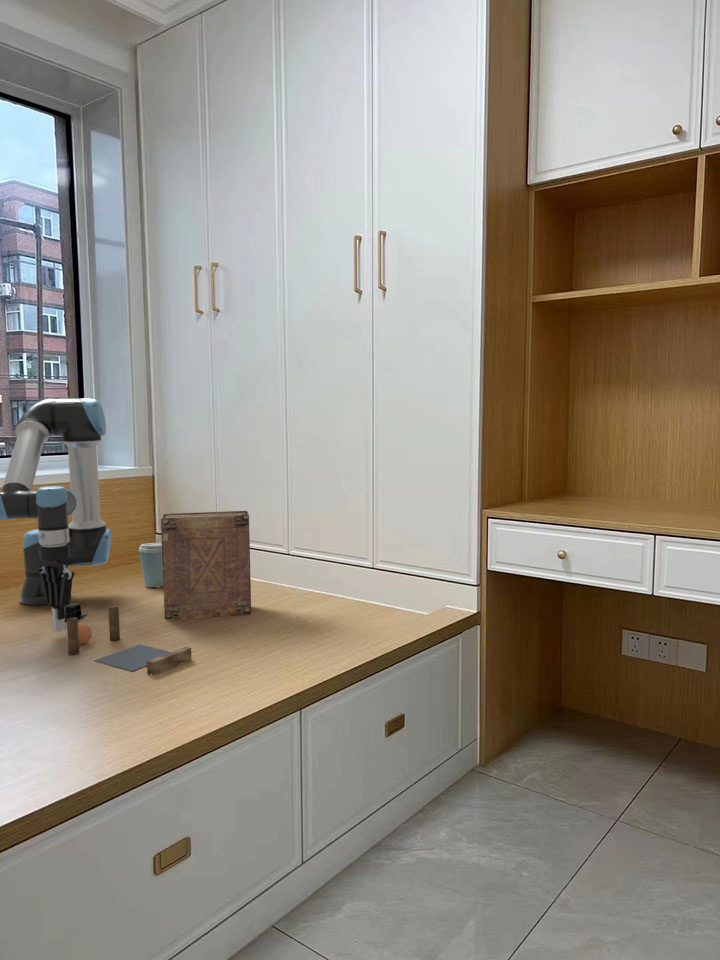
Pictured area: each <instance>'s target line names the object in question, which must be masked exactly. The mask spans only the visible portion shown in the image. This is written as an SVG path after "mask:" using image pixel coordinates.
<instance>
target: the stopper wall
mask: <svg viewBox="0 0 720 960" xmlns="http://www.w3.org/2000/svg"><path fill="white" fill-rule="evenodd" d="M169 652H170V653H167V654H165V655H162V656H159V657H157V658H154V659H151V660H149V661H147V666H146V668H147V669H146V670H147V673H148V674H147V675H150V674H152V675H151V676H155V675H157V673H158V674H160V673H162V671H163V672H164V670H165V671H168V670H169V668H170V669H172V668H171V667H173V668H175V667H177V665H178V666H180V665H182V664H181V663H183V664H185V663H188V662H189V661H188V660H190V661H192V660H191V659H192V648H191V647H189V646H183V647H180V648H178V649H175V650H173V651H169ZM187 661H188V662H187ZM184 662H185V663H184ZM179 664H180V665H179ZM174 666H175V667H174ZM167 669H168V670H167ZM154 674H155V675H154Z"/></svg>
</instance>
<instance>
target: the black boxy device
mask: <svg viewBox="0 0 720 960" xmlns="http://www.w3.org/2000/svg"><path fill="white" fill-rule="evenodd" d="M81 605H82V604H81V603H70V604H69V605H67V606H65V623H67V620H66V619H68V618H73V617H75V618H78V621H79V620H81V619H84V617H86V616H88V614H87V613H86V614H84V613H82V606H81Z"/></svg>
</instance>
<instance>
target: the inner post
mask: <svg viewBox="0 0 720 960" xmlns="http://www.w3.org/2000/svg"><path fill="white" fill-rule="evenodd" d="M108 625H109V629H108V630H109V641H110V642H113V643H115V642H118V641H120V640H121V629H120V606H119V605H110V606H108Z"/></svg>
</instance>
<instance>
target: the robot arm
mask: <svg viewBox="0 0 720 960" xmlns="http://www.w3.org/2000/svg"><path fill="white" fill-rule="evenodd" d="M105 417H106V416H105V412H104V409H103V406H102V404H101V402H100V401H99V400H97V399H95V398H85V397H83V398H58V399H57V398H48V399H43V400H40V401H39V402H36V403H35V404H33V405H32V406H30V407H29V408H28V409H27V410H26V411H25V412H23V414H22V415H21V417H20V418H19V420H18V421H17V425H16V427H15V435H16V437H17V438H16V440H15V444H14V447H13V451H12V453H11V454H12V455H11V457H10V460H9V463H8V468H7V470H6V474H5V476H4V477H5V478H4V481H3V484H2V487H1V491H0V520H17V519H18V520H21V519H37V528H36V529H33V530H30V531H28V532H26V533H24V535H23V537H22V538H23V540H22V541H23V542H22V543H23V544H22V545H23V546H22V549H23V550H22V551H23V563H24V564H23V565H24V566H23V567H24V582H23V585H22V589H21V592H20V596H19V597H20V603H21V604H24V605H27V606H43V605H44V606H45V605H49V607H50V611H51V619H52V620H51V621H52V632H55V633H58V632H61V631H64V630H66V622H65V607H66V606H68V605H70V604H71V598H72V587H73V579H74V577H75V572H74V571H70V570H69V567H84V566H85V567H86V566H89V567H90V566H91V567H94V566H98V565H99V566H100V565H104V564H106V563H107V562H108V560H109V558H110V553H111V547H112V536H113V535H112V530H111V529H110V528H107V525H106V522H105V521H104V520H103V519H101V506H100V505H101V504H100V488H99V487H100V486H99V468H98V452H97V451H98V450H97V449H98V447H97V446H98V445H99V444H100V442H101V441H102V437H103V436H105V435H106V432H107V428H106V426H107V425H106V424H107V423H106V418H105ZM52 436H53V437H58V436H59V437H62V438H61V440H62V443H63V444H64V445H65V446H67V453H68V456H67V457H68V467H69V469H68V471H69V488H70V489H67V488H66V487H64V486H60V485H53V486H41V487H39V488H37V489H36V490H33V489H32V488H33V485H34V481H35V477H36V474H37V471H38V466H39V464H40V458H41V456H42V452H43V448H44V444H45V443H46V442H47V441H48V440H49V438H50V437H52ZM70 515H71V516H72V519H71V522H69V516H70Z"/></svg>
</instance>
